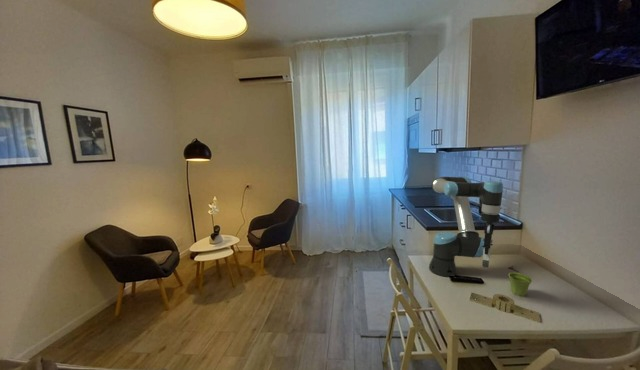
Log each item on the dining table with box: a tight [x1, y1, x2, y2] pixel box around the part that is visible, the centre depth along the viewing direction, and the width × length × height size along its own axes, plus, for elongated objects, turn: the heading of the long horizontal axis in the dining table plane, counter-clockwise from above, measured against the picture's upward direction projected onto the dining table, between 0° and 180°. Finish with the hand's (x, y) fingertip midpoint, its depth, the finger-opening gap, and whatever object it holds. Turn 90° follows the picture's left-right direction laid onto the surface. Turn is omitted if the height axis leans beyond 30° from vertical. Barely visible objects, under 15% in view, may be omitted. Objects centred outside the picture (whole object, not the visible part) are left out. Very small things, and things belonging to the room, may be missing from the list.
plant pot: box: [508, 272, 533, 297], centre depth 128 cm, size 9×9×9 cm
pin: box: [482, 238, 494, 269], centre depth 125 cm, size 4×4×14 cm
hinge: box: [469, 292, 541, 323], centre depth 117 cm, size 26×8×4 cm, turn 53°
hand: (486, 258), depth 126 cm, fingers closed on pin, 2 cm apart
